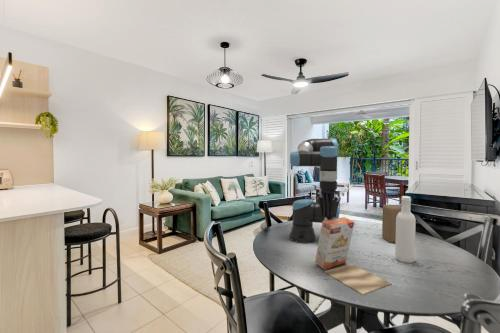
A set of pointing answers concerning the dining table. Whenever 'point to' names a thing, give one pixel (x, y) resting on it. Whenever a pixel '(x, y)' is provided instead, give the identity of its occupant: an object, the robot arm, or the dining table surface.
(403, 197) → the bottle
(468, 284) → the dining table surface
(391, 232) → the wooden block
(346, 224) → the cracker box
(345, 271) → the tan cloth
